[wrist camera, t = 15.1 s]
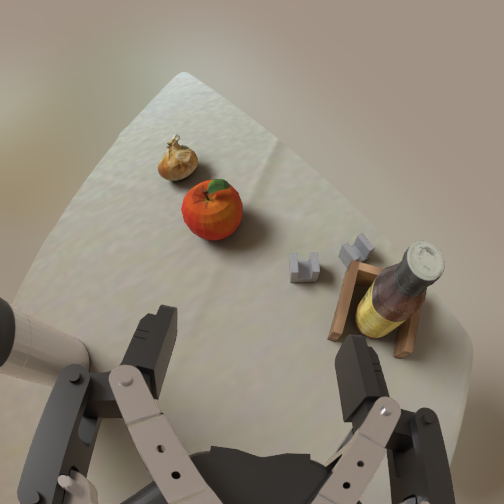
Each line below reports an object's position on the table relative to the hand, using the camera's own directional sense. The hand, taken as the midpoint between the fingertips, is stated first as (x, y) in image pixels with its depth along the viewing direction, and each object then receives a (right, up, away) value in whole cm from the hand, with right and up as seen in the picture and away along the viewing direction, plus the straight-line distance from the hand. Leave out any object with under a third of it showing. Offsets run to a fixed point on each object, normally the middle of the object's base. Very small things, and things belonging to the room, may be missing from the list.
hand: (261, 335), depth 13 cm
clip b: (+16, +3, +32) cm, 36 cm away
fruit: (-6, +8, +37) cm, 39 cm away
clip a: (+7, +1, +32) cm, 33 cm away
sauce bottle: (+17, -6, +27) cm, 33 cm away
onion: (-14, +19, +44) cm, 50 cm away
